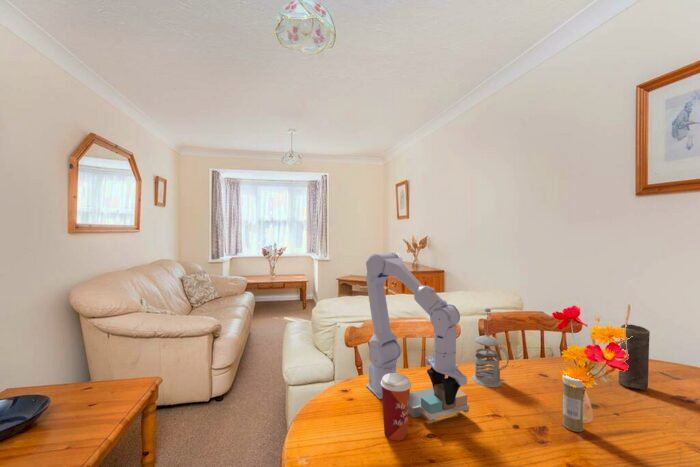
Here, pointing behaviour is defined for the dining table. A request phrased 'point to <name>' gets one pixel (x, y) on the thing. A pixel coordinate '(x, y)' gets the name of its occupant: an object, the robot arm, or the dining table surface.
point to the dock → (417, 401)
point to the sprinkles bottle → (573, 404)
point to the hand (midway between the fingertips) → (444, 399)
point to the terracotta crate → (460, 398)
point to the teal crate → (431, 404)
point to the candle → (636, 358)
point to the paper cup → (395, 405)
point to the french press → (488, 361)
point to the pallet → (443, 413)
